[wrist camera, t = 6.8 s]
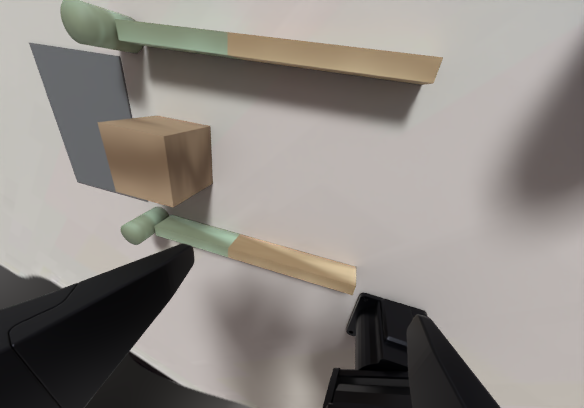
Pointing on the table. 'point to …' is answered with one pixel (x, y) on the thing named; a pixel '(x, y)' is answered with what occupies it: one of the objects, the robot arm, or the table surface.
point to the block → (158, 158)
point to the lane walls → (325, 57)
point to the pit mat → (84, 105)
